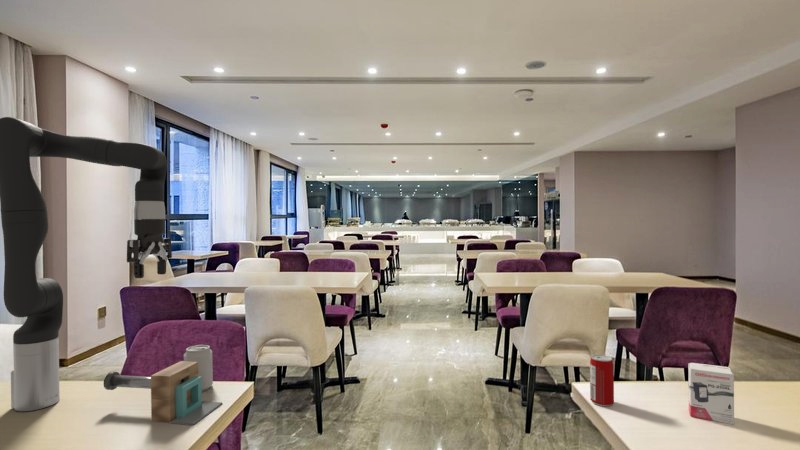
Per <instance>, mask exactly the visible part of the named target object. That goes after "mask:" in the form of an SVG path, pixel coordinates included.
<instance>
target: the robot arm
mask: <svg viewBox="0 0 800 450" xmlns="http://www.w3.org/2000/svg"><path fill="white" fill-rule="evenodd" d="M41 157H42V158H45V157H46V158H47V157H48V158H61V159H62V158H65V159H71V160H76V161H81V162H82V161H83V162H87V163H93V164H97V165H105V166H112V167H126V168H132V169H137V170H140V173H139V174H140V176H139V180H137V181H136V182H135V185H134V209H133V225H134V228H133V234H134V235H135V236H137V238H136V239H128V240H127V242H126V244H127V245H126V263H131V264H132V265H133V276H134V278H135V279H143V278H144V277H145V269H144V268H145V265H144V263H145V260H146V259H147V258H148V257H149V255H152V256H154V257H155V258H156V259H157V262H156V265H157V266H156V268H157V270H156V271H157V272H156V273H157V274H158V275H166V273H167V261H168V260H169V259H172V258H173V254H172V253H173V252H172V250H173V249H172V238H171V237H163V235H165V234H166V206H165V189H164V185H165V182H166V175H167V171H168V169H167V168H168V161H167V156H166V155H165V153H164V152H163V151H162V150H161V149H159V148H157V147H155V146H153V145H150V144H145V143H140V142H139V143H138V142H129V141H128V142H127V141H126V142H125V141H119V140H115V139H107V138H102V137H95V136H74V135H66V134H62V133H59V132H58V133H57V132H54V131H51V130H47V129H44V128H41V127H39V126H37V125H36V124H33V123H30V122H28V121H25V120H22V119H19V118H16V117H11V116H4V117H1V118H0V219H1V227H2V237H3V238H2V239H3V251H4V253H3V255H4V276H3V277H4V278H3V279H4V280H3V301H4V302H3V303H4V305H5V308H6V310H7V311H8V313H9V314H10V315H11V316H13V317H16V318H26V320H25V322H24V323H23V324H22V325H21V326H20V327H18V328H17V329H16V330H15V331H14V332H13V337H12V341H13V342H12V343H13V345H12V346H13V350H12V352H13V370H12V371H11V372H10V403H11V404H10V405H11V406H10V407H11V409H14V410H15V411H16V412H32V411H37V410H41V409H44V408H48V407H51V406H53V405H54V404H57V403H58V402H60V350H59V349H60V347H59V346H60V344H59V335H60V334H59V333H60V329H61V327H62V324H63V313H64V312H63V311H64V293H63V292H64V291H63V288H62V287H61V285H60V283H59V282H58V281H57V280H55V279H53V278H50V277H42V278H41V277H40V278H37V266H36V265H37V258H38V255H39V252H40V250H41V248H42V246H43V244H44V242H45V240H46V238H47V235H48V231H49V217H48V207H47V203H46V201H45V197H44V195H43V193H42V191H41V190H40V188H39V186H38V184H37V182H36V181H35V178H34V175H33V172H32V169H31V160H30V158H41ZM166 252H167V253H166Z"/></svg>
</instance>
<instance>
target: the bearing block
mask: <svg viewBox="0 0 800 450" xmlns="http://www.w3.org/2000/svg"><path fill="white" fill-rule="evenodd" d="M194 376H198V362H190V361H184V360H179V361H178V362H177V363H174V364H172V365H170V366H168V367H165V368H163V369H162V370H159V371H157V372H155V373H154V374H151V375H150V377H151V389H150V404H151V405H150V408H151V409H150V410H151V411H150V413H151V415H150V416H151V420H150V421H151V422H156V423H157V422H158V423H171V421H173V420H174V419H176V418H177V417H176V408H175V387H176V386H178V385H180V380H181V379H183V380H184V382H185V381H187V380H189V379H191V378H192V377H194ZM186 393H187V404H188V403H190V402H191V389H189V390H187V391H186Z"/></svg>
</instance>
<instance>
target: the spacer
mask: <svg viewBox="0 0 800 450" xmlns="http://www.w3.org/2000/svg"><path fill="white" fill-rule="evenodd" d="M189 389H191V402H190V403H188V404H187V393H186V391H187V390H189ZM202 392H203V391H202V384H201V377H198V376H194V377H192V378H191V379H189V380H187V381H185V382H183V383H182V384H180V385H178V386H176V387H175V408H176V417H177V418H184V417H185V416H187V415H188V414H190V413H191V412H192V411H194V410H195V409H197V408H198V407H200V406H201V405H202V401H203V400H202V398H203V397H202V394H203V393H202Z"/></svg>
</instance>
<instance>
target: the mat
mask: <svg viewBox="0 0 800 450" xmlns="http://www.w3.org/2000/svg"><path fill="white" fill-rule="evenodd" d="M222 405H223V402H221V401H218V402H217V401H205V400H202V405H201V406H200V407H198V408H197V409H195V410H194V411H192V412H191V413H190V414H188V415H187V416H185V417H184V418H176V419H174V420H173V421H171V422H170V424H173V425H174V424H175V425H187V426H194V425H196V424H197V423H198V422H200V421H201V420H202V419H204V418H205V417H208V415H209V414H211V413H212V412H213V411H215V410H217V409H218V408H219V407H221V406H222Z"/></svg>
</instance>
